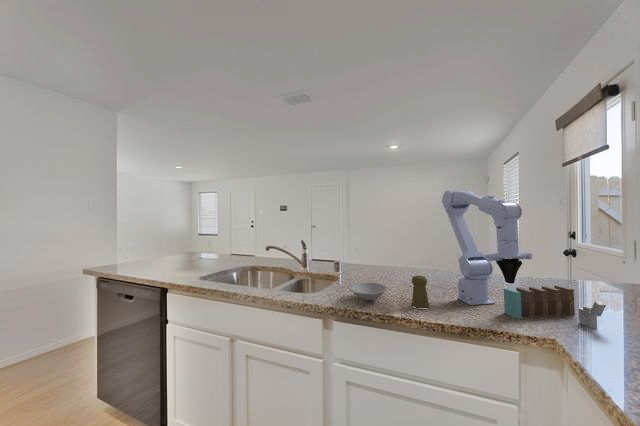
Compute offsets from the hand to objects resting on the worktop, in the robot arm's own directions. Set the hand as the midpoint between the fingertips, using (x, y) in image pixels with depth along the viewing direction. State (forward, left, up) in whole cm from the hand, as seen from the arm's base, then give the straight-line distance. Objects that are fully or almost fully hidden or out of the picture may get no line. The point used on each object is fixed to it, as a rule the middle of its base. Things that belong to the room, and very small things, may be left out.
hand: (509, 282), depth 87 cm
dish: (-40, +24, -11) cm, 48 cm away
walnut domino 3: (+14, 0, -10) cm, 18 cm away
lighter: (+14, -12, -11) cm, 21 cm away
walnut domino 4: (+19, 0, -10) cm, 21 cm away
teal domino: (+1, 0, -10) cm, 10 cm away
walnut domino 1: (+5, 0, -10) cm, 12 cm away
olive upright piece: (-24, +13, -11) cm, 29 cm away
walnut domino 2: (+10, 0, -10) cm, 14 cm away
